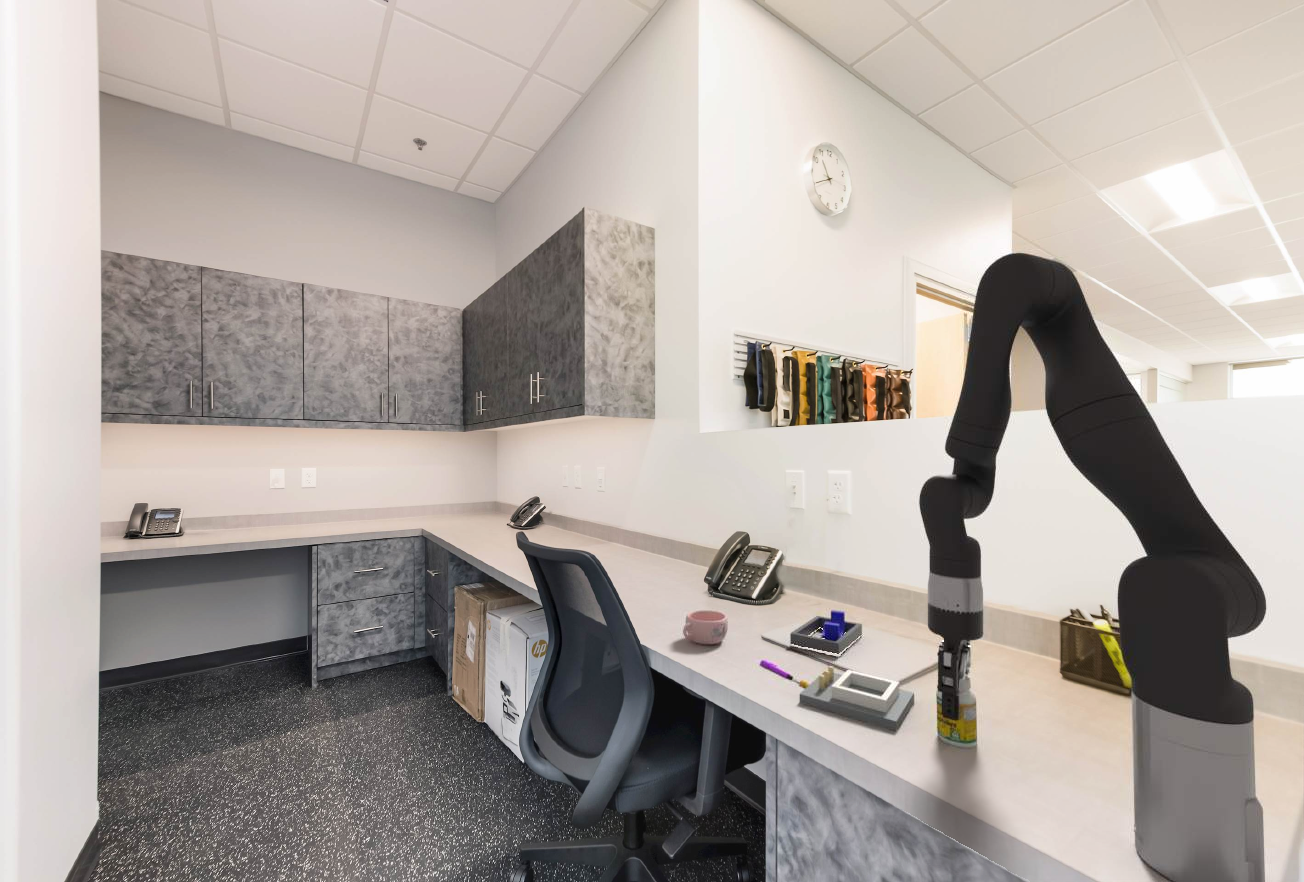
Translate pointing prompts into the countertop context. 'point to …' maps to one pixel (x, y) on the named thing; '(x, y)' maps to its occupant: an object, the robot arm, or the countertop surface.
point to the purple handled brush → (782, 672)
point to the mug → (706, 626)
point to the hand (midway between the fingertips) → (955, 707)
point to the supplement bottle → (966, 725)
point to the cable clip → (834, 626)
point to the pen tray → (838, 646)
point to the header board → (859, 697)
